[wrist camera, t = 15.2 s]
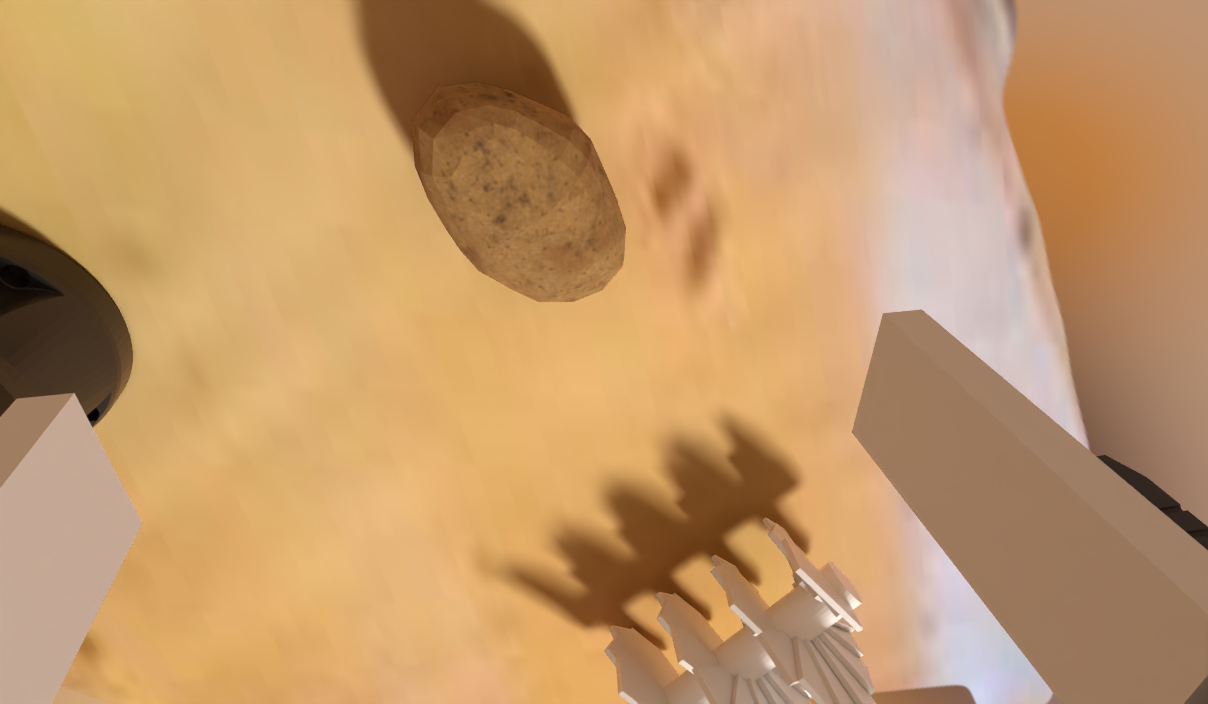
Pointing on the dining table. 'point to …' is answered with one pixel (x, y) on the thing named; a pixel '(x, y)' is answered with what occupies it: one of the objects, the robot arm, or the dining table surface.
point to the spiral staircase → (753, 643)
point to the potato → (519, 191)
